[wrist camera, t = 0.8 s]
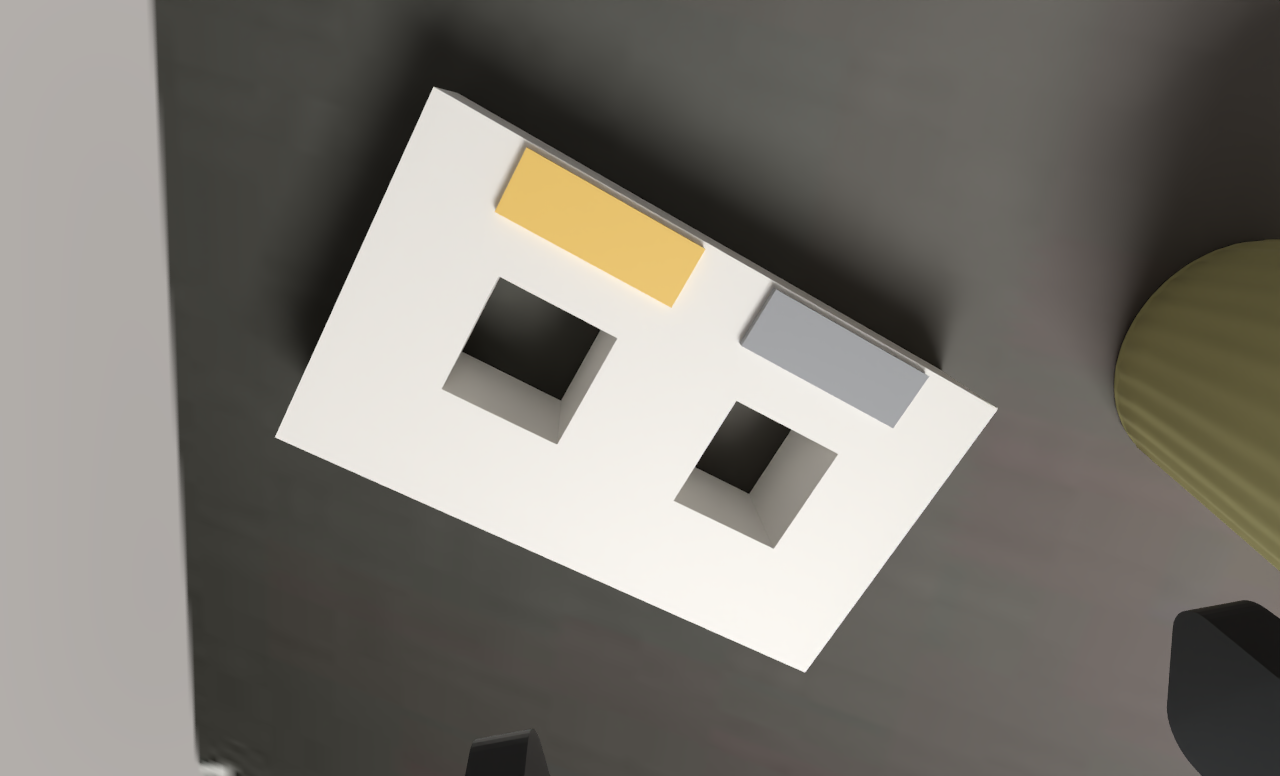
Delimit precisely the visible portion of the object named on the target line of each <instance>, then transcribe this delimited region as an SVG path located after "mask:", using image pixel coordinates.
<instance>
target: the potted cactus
mask: <svg viewBox="0 0 1280 776" xmlns="http://www.w3.org/2000/svg"><path fill="white" fill-rule="evenodd" d="M1114 393H1115V402H1116V408H1117V411H1118V414H1119V417H1120V420H1121V423H1122V425H1123V427H1124V429H1125V430H1126V432H1127V434H1128V435H1129V437H1130V438H1131V439H1132V441H1133V442H1134V443H1135V444H1136V446H1137V448H1139V449H1140V450H1141V451H1142V452H1143V453H1144V454H1146V455H1147V456H1148V457H1149V458H1150V459H1151V460H1152V461H1153V462H1154V463H1156V464H1157V465H1158V466H1159V467H1160V468H1161V469H1163V470H1164V471H1165V472H1166V473H1167V474H1168V475H1169V476H1171V477H1172V478H1173V479H1174V480H1175V481H1176V482H1178V483H1179V484H1180V485H1181V486H1182V487H1183V488H1184V489H1186V490H1187V491H1188V492H1189V493H1190V494H1191V495H1193V496H1194V497H1195V498H1196V499H1197V500H1198V501H1199V502H1201V503H1202V504H1203V505H1204V506H1205V507H1206V508H1208V509H1209V510H1210V511H1211V512H1212V513H1213V514H1214V515H1216V516H1217V517H1218V518H1219V519H1220V520H1221V521H1223V522H1224V523H1225V524H1226V525H1227V526H1228V527H1229V528H1231V529H1232V530H1233V531H1234V532H1235V533H1236V534H1238V535H1239V536H1240V537H1241V538H1242V539H1243V540H1244V541H1246V542H1247V543H1248V544H1249V545H1250V546H1251V547H1252V548H1254V549H1255V550H1256V551H1257V552H1258V553H1259V554H1261V555H1262V556H1263V557H1264V558H1265V559H1266V560H1267V561H1269V562H1270V563H1271V564H1272V565H1273V566H1274V567H1276V568H1277V569H1278V570H1279V571H1280V239H1266V240H1263V241H1252V242H1243V243H1238V244H1234V245H1231V246H1227V247H1224V248H1221V249H1218V250H1215V251H1213V252H1210V253H1208V254H1206V255H1204V256H1202V257H1200V258H1198V259H1197V260H1195V261H1193V262H1191V263H1190V264H1188V265H1186V266H1185V267H1184V268H1182V269H1181V270H1179V271H1178V272H1177V273H1175V274H1174V275H1173V276H1172V277H1170V278H1169V279H1168V280H1167V281H1166V282H1165V283H1164V284H1163V285H1162V286H1161V287H1160V288H1159V289H1158V290H1157V291H1156V292H1155V293H1154V294H1153V295H1152V296H1151V297H1150V298H1149V299H1148V301H1147V302H1146V303H1145V305H1144V306H1143V307H1142V309H1141V310H1140V312H1139V313H1138V314H1137V316H1136V317H1135V319H1134V321H1133V322H1132V324H1131V326H1130V328H1129V330H1128V332H1127V334H1126V336H1125V339H1124V341H1123V343H1122V346H1121V349H1120V353H1119V356H1118V360H1117V364H1116V370H1115V380H1114Z"/></svg>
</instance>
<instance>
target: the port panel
mask: <svg viewBox="0 0 1280 776" xmlns="http://www.w3.org/2000/svg"><path fill="white" fill-rule="evenodd" d="M500 277H501V278H503V279H505V280H507V281H509V282H511V283H513V284H515V285H517V286H519V287H520V288H522V289H524V290H526V291H528V292H530V293H532V294H534V295H536V296H538V297H540V298H541V299H543V300H545V301H547V302H549V303H551V304H553V305H555V306H557V307H559V308H561V309H562V310H564V311H566V312H568V313H570V314H572V315H574V316H576V317H578V318H580V319H582V320H583V321H585V322H587V323H589V324H591V325H593V326H595V327H597V328H599V329H601V330H600V332H599V333H598V335H597V337H596V339H595V341H594V342H593V344H592V346H591V348H590V350H589V351H588V353H587V355H586V357H585V358H584V360H583V362H582V364H581V366H580V367H579V369H578V371H577V373H576V375H575V376H574V378H573V380H572V382H571V384H570V385H569V387H568V389H567V391H566V393H565V394H564V396H563V398H562V400H559V399H556V398H554V397H552V396H550V395H548V394H546V393H544V392H542V391H540V390H538V389H536V388H534V387H532V386H530V385H528V384H526V383H524V382H522V381H520V380H518V379H516V378H514V377H512V376H510V375H508V374H506V373H504V372H502V371H500V370H498V369H496V368H494V367H492V366H490V365H488V364H486V363H484V362H482V361H480V360H478V359H476V358H474V357H472V356H470V355H468V354H466V353H464V352H462V351H463V349H464V347H465V345H466V343H467V341H468V339H469V337H470V335H471V333H472V331H473V329H474V327H475V325H476V323H477V321H478V319H479V317H480V315H481V313H482V311H483V309H484V307H485V305H486V303H487V301H488V299H489V298H490V296H491V294H492V292H493V290H494V288H495V286H496V284H497V282H498V280H499V278H500ZM736 401H738V402H740V403H742V404H744V405H746V406H748V407H749V408H751V409H753V410H755V411H757V412H759V413H761V414H763V415H765V416H767V417H769V418H770V419H772V420H774V421H776V422H778V423H780V424H782V425H784V426H786V427H788V428H789V429H791V431H790V432H789V434H788V435H787V437H786V438H785V440H784V442H783V443H782V445H781V446H780V448H779V449H778V451H777V452H776V454H775V455H774V457H773V458H772V460H771V461H770V463H769V464H768V466H767V467H766V469H765V471H764V472H763V474H762V475H761V477H760V478H759V480H758V481H757V483H756V484H755V486H754V487H753V489H752V490H751V492H750V493H749V494H748V493H746V492H744V491H742V490H740V489H738V488H736V487H734V486H732V485H730V484H728V483H726V482H724V481H722V480H720V479H718V478H716V477H714V476H712V475H710V474H708V473H706V472H704V471H702V470H700V469H698V468H696V467H695V466H696V464H697V463H698V461H699V459H700V458H701V456H702V455H703V453H704V451H705V450H706V448H707V447H708V445H709V443H710V442H711V440H712V439H713V437H714V435H715V434H716V432H717V431H718V429H719V427H720V426H721V424H722V423H723V421H724V419H725V418H726V416H727V415H728V413H729V412H730V410H731V408H732V407H733V405H734V404H735V402H736ZM996 411H997V408H996V407H994V406H993V405H991V404H990V403H989V402H987V401H986V400H984V399H983V398H981V397H980V396H978V395H977V394H975V393H974V392H972V391H971V390H970V389H968V388H967V387H965V386H964V385H962V384H961V383H959V382H958V381H956V380H955V379H953V378H952V377H951V376H949V375H948V374H946V373H945V372H943V371H942V370H940V369H938V368H936V367H935V366H933V365H931V364H930V363H928V362H926V361H924V360H923V359H921V358H919V357H917V356H916V355H914V354H912V353H910V352H909V351H907V350H905V349H903V348H902V347H900V346H898V345H896V344H895V343H893V342H891V341H889V340H888V339H886V338H884V337H882V336H881V335H879V334H877V333H875V332H874V331H872V330H870V329H868V328H867V327H865V326H863V325H861V324H860V323H858V322H856V321H855V320H853V319H851V318H849V317H848V316H846V315H844V314H842V313H841V312H839V311H837V310H835V309H834V308H832V307H830V306H828V305H827V304H825V303H823V302H821V301H820V300H818V299H816V298H814V297H813V296H811V295H809V294H807V293H806V292H804V291H802V290H800V289H799V288H797V287H795V286H793V285H792V284H790V283H788V282H786V281H785V280H783V279H781V278H780V277H778V276H776V275H774V274H773V273H771V272H769V271H767V270H766V269H764V268H762V267H760V266H759V265H757V264H755V263H753V262H752V261H750V260H748V259H746V258H745V257H743V256H741V255H739V254H738V253H736V252H734V251H732V250H731V249H729V248H727V247H725V246H724V245H722V244H720V243H718V242H717V241H715V240H713V239H712V238H710V237H708V236H706V235H705V234H703V233H701V232H699V231H698V230H696V229H694V228H692V227H691V226H689V225H687V224H685V223H684V222H682V221H680V220H678V219H677V218H675V217H673V216H671V215H670V214H668V213H666V212H664V211H663V210H661V209H659V208H657V207H656V206H654V205H652V204H650V203H649V202H647V201H645V200H643V199H642V198H640V197H638V196H637V195H635V194H633V193H631V192H630V191H628V190H626V189H624V188H623V187H621V186H619V185H617V184H616V183H614V182H612V181H610V180H609V179H607V178H605V177H603V176H602V175H600V174H598V173H596V172H595V171H593V170H591V169H589V168H588V167H586V166H584V165H582V164H581V163H579V162H577V161H575V160H574V159H572V158H570V157H568V156H567V155H565V154H563V153H562V152H560V151H558V150H556V149H555V148H553V147H551V146H549V145H548V144H546V143H544V142H542V141H541V140H539V139H537V138H535V137H534V136H532V135H530V134H528V133H527V132H525V131H523V130H521V129H520V128H518V127H516V126H514V125H513V124H511V123H509V122H507V121H506V120H504V119H502V118H500V117H499V116H497V115H495V114H493V113H492V112H490V111H488V110H487V109H485V108H483V107H481V106H480V105H478V104H476V103H474V102H473V101H471V100H469V99H467V98H466V97H464V96H462V95H460V94H459V93H456V92H452V91H448V90H445V89H441V88H437V87H433V89H432V91H431V94H430V96H429V98H428V100H427V102H426V105H425V107H424V109H423V111H422V113H421V116H420V118H419V120H418V122H417V124H416V127H415V129H414V131H413V133H412V136H411V138H410V140H409V142H408V144H407V147H406V149H405V151H404V153H403V155H402V158H401V160H400V162H399V164H398V166H397V169H396V171H395V173H394V175H393V178H392V180H391V182H390V184H389V186H388V189H387V191H386V193H385V195H384V197H383V200H382V202H381V204H380V206H379V209H378V211H377V213H376V215H375V217H374V220H373V222H372V224H371V226H370V228H369V231H368V233H367V235H366V237H365V239H364V242H363V244H362V246H361V248H360V251H359V253H358V255H357V257H356V259H355V262H354V264H353V266H352V268H351V270H350V273H349V275H348V277H347V279H346V281H345V284H344V286H343V288H342V290H341V293H340V295H339V297H338V299H337V301H336V304H335V306H334V308H333V310H332V312H331V315H330V317H329V319H328V321H327V323H326V326H325V328H324V330H323V332H322V335H321V337H320V339H319V341H318V343H317V346H316V348H315V350H314V352H313V354H312V357H311V359H310V361H309V363H308V365H307V368H306V370H305V372H304V374H303V377H302V379H301V381H300V383H299V385H298V388H297V390H296V392H295V394H294V396H293V399H292V401H291V403H290V405H289V407H288V410H287V412H286V414H285V416H284V419H283V421H282V423H281V425H280V427H279V430H278V432H277V434H276V436H275V438H278V439H280V440H282V441H284V442H287V443H289V444H291V445H293V446H296V447H298V448H300V449H302V450H305V451H307V452H309V453H311V454H314V455H316V456H318V457H320V458H323V459H325V460H327V461H329V462H332V463H334V464H336V465H338V466H341V467H343V468H345V469H347V470H350V471H352V472H354V473H357V474H359V475H361V476H363V477H366V478H368V479H370V480H372V481H375V482H377V483H379V484H381V485H384V486H386V487H388V488H390V489H393V490H395V491H397V492H399V493H402V494H404V495H406V496H408V497H411V498H413V499H415V500H417V501H420V502H422V503H424V504H426V505H429V506H431V507H433V508H435V509H438V510H440V511H442V512H444V513H447V514H449V515H451V516H453V517H456V518H458V519H460V520H462V521H465V522H467V523H469V524H471V525H474V526H476V527H478V528H480V529H483V530H485V531H487V532H489V533H492V534H494V535H496V536H498V537H501V538H503V539H505V540H507V541H510V542H512V543H514V544H516V545H519V546H521V547H523V548H526V549H528V550H530V551H532V552H535V553H537V554H539V555H541V556H544V557H546V558H548V559H550V560H553V561H555V562H557V563H559V564H562V565H564V566H566V567H568V568H571V569H573V570H575V571H577V572H580V573H582V574H584V575H586V576H589V577H591V578H593V579H595V580H598V581H600V582H602V583H604V584H607V585H609V586H611V587H613V588H616V589H618V590H620V591H622V592H625V593H627V594H629V595H631V596H634V597H636V598H638V599H640V600H643V601H645V602H647V603H649V604H652V605H654V606H656V607H658V608H661V609H663V610H665V611H667V612H670V613H672V614H674V615H676V616H679V617H681V618H683V619H685V620H688V621H690V622H692V623H695V624H697V625H699V626H701V627H704V628H706V629H708V630H710V631H713V632H715V633H717V634H719V635H722V636H724V637H726V638H728V639H731V640H733V641H735V642H737V643H740V644H742V645H744V646H746V647H749V648H751V649H753V650H755V651H758V652H760V653H762V654H764V655H767V656H769V657H771V658H773V659H776V660H778V661H780V662H782V663H785V664H787V665H789V666H791V667H794V668H796V669H798V670H800V671H803V672H806V670H807V669H808V668H809V666H810V665H811V664H812V662H813V661H814V660H815V658H816V657H817V655H818V654H819V653H820V651H821V650H822V649H823V647H824V646H825V644H826V643H827V642H828V640H829V639H830V638H831V636H832V635H833V634H834V632H835V631H836V629H837V628H838V627H839V625H840V624H841V623H842V621H843V620H844V619H845V617H846V616H847V614H848V613H849V612H850V610H851V609H852V608H853V606H854V605H855V603H856V602H857V601H858V599H859V598H860V597H861V595H862V594H863V593H864V591H865V590H866V588H867V587H868V586H869V584H870V583H871V582H872V580H873V579H874V578H875V576H876V575H877V573H878V572H879V571H880V569H881V568H882V567H883V565H884V564H885V562H886V561H887V560H888V558H889V557H890V556H891V554H892V553H893V552H894V550H895V549H896V547H897V546H898V545H899V543H900V542H901V541H902V539H903V538H904V536H905V535H906V534H907V532H908V531H909V530H910V528H911V527H912V526H913V524H914V523H915V521H916V520H917V519H918V517H919V516H920V515H921V513H922V512H923V511H924V509H925V508H926V506H927V505H928V504H929V502H930V501H931V500H932V498H933V497H934V495H935V494H936V493H937V491H938V490H939V489H940V487H941V486H942V485H943V483H944V482H945V480H946V479H947V478H948V476H949V475H950V474H951V472H952V471H953V470H954V468H955V467H956V465H957V464H958V463H959V461H960V460H961V459H962V457H963V456H964V454H965V453H966V452H967V450H968V449H969V448H970V446H971V445H972V444H973V442H974V441H975V439H976V438H977V437H978V435H979V434H980V433H981V431H982V430H983V429H984V427H985V426H986V424H987V423H988V422H989V420H990V419H991V418H992V416H993V415H994V413H995V412H996Z"/></svg>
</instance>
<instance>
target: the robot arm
mask: <svg viewBox="0 0 1280 776" xmlns="http://www.w3.org/2000/svg"><path fill="white" fill-rule="evenodd" d="M1167 714H1168V720H1169V724H1170V727H1171V730H1172V733H1173V735H1174V737H1175V740H1176V742H1177V744H1178V746H1179V747H1180V749H1181V751H1182V752H1183V754H1184V755H1185V757H1186V758H1187V759H1188V761H1189V762H1190V763H1191V764H1192V766H1193V767H1194V768H1195V769H1196V770H1197V771H1198V772H1199V773H1200V774H1201V775H1202V776H1280V619H1279V618H1278V617H1277V616H1275V615H1274V614H1273V613H1271V612H1270V611H1268V610H1267V609H1266V608H1264V607H1263V606H1261V605H1259V604H1257V603H1255V602H1252V601H1247V600H1242V601H1237V602H1231V603H1226V604H1220V605H1215V606H1210V607H1204V608H1199V609H1193V610H1188V611H1183V612H1181V613H1179V614H1178V615H1177V617H1176V618H1175V621H1174V624H1173V633H1172V646H1171V660H1170V673H1169V686H1168V700H1167ZM465 776H550V774H549V771H548V767H547V764H546V760H545V757H544V753H543V750H542V746H541V743H540V739H539V736H538V734H537V732H536V730H534V729H529V730H523V731H518V732H512V733H507V734H501V735H496V736H491V737H485V738H480V739H476V740H474V742H473V743H472V746H471V749H470V754H469V759H468V764H467V769H466V774H465Z"/></svg>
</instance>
